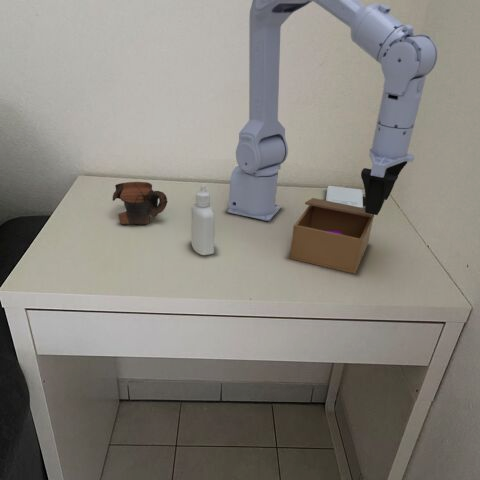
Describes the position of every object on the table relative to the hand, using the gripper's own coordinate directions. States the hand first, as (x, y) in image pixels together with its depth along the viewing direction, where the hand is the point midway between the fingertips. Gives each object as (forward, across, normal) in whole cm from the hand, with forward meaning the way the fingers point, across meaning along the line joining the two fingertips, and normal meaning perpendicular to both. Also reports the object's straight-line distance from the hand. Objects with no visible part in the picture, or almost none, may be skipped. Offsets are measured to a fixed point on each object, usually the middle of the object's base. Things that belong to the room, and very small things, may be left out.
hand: (376, 205), depth 85 cm
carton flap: (+2, +1, +7) cm, 7 cm away
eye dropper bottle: (+10, -13, +27) cm, 32 cm away
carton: (+10, -2, +6) cm, 12 cm away
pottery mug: (+10, -7, +45) cm, 46 cm away
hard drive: (+10, +23, +10) cm, 28 cm away
